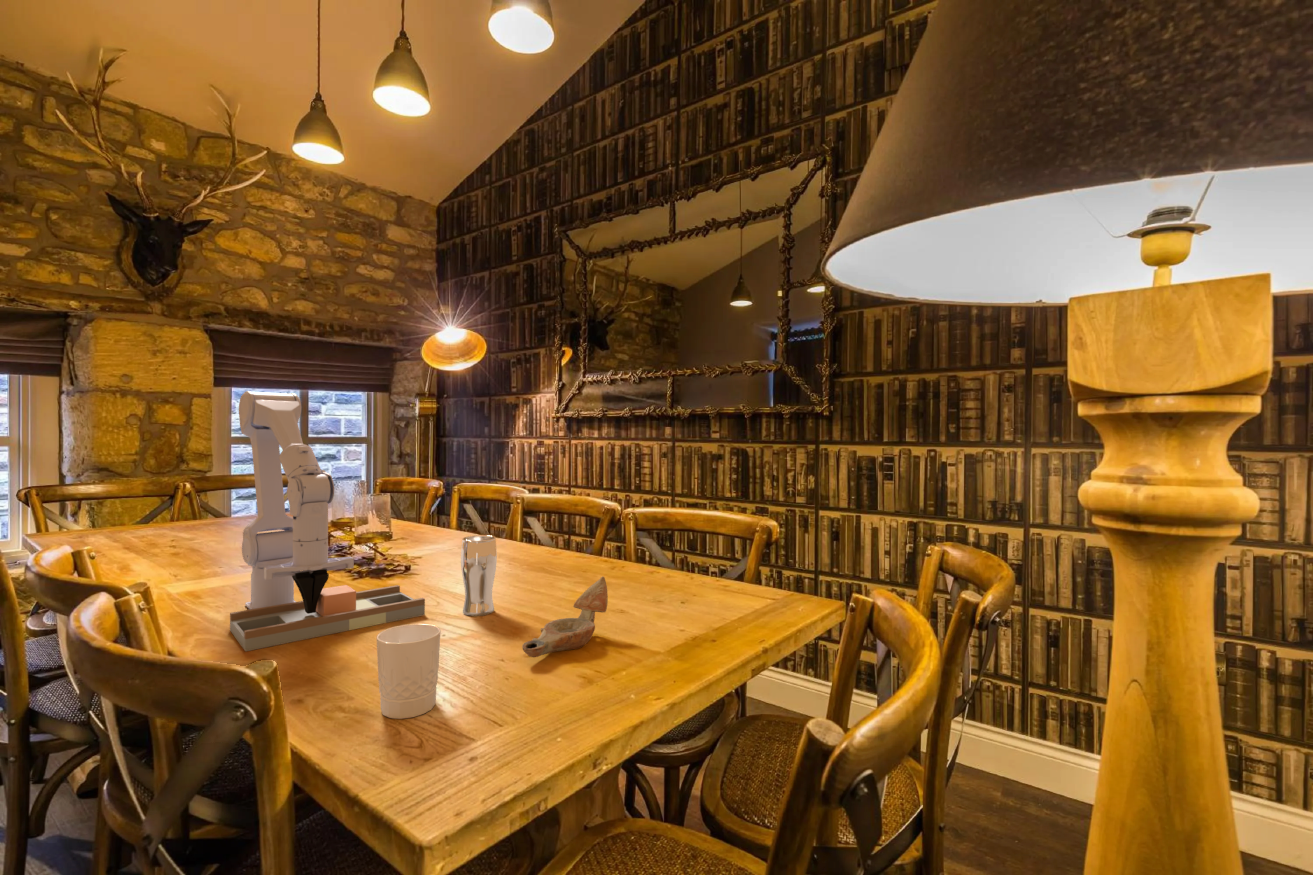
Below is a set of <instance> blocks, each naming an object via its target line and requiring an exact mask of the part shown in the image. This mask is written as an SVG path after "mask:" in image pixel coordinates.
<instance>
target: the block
mask: <svg viewBox="0 0 1313 875" xmlns="http://www.w3.org/2000/svg"><path fill="white" fill-rule="evenodd" d="M356 592H357V591H356V590H355V589H353V588H352V587H351V586H349V585H347V584H344V585H338V586H331V587H323V589H322V591H321V594H320V596H319V599H318V603H317V606H316V612H318V613H319V614H320V615H321V616H326V615H332V614H337V613H343V612H348V611H354V610H356Z"/></svg>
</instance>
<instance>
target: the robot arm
mask: <svg viewBox="0 0 1313 875" xmlns="http://www.w3.org/2000/svg"><path fill="white" fill-rule="evenodd" d="M301 414H302V402H301V399H300V397H299V395H298V394H296V393H292V392H291V393H280V392H279V393H278V392H275V393H274V392H255V391H250V390H247V391H244V392H243V394H242V395H241V396H240V398H239V404H238V418H239V427H240V430H241V434H242V435H244V436H247V437H248V438H249V440H250V444H251V445H250V446H251V450H252V463H253V464H252V465H253V474H254V486H255V487H254V488H255V497H256V509H257V517H256V518H255V519H254V520H253V521H251V522H250V523H249V524H247V525H246V526H245V527H244V529H243V531H242V542H241V554H242V558H243V561H244V562H245V563H246V564H247V565H248V566H250V567H251V568H252V571H251V573H250V601H247V602H245V603H244V605H245V606H246V607H247V609H248V610H250V609H257V608H263V607H269V606H275V605H281V604H287V603H293V602H297V601H296V600H295V596H294V594H295V589H294V588H295V584H296V587H297V588H298V590H299V593H300V596H301V599H302V601H303V602H304V607H305V612H306V613H308V614H309V613H315V612H316V606H317V603H318V599H319V596H320V594H321V591H322V589H323V588H325V585H326V583H327V581H328V580H329V576H330V574H329V573H328V571H336V570H343V569H348V570H349V569H354V568H355V566H354V562H355V560H354V559H355V558H354V557H352V556H344V557H331V558H330V557H329V505H330V504H331V503H332V502H333V499H334V496H335V484H334V480H333V477H332V475H331V473H329V472H326V470H325V469H321V466H320V464H319V462H318V459H317V458H316V456H315V455H316V454H315V453H314V451H313V449H312V447H311V446H309V445H307V444H306V443H305V444H304V443H303V439H302V435H301V431H300V427H299V425H298V424H299V421H300V418H301ZM280 447H281V451H280ZM282 469H283V471H284V474H285V477H286V479H287V482H288V483H287V488H286V495H287V499H288V500H287V501H288V503H289V514H290V516H289V515H287V514H286V507H285V496H284V495H285V494H284V483H283V473H282V472H283V471H282ZM291 516H292V517H291Z"/></svg>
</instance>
